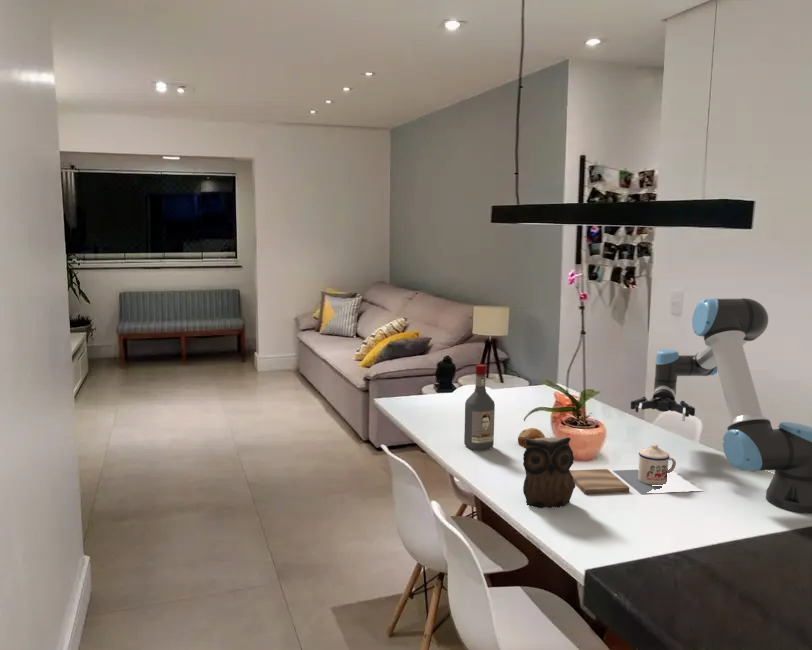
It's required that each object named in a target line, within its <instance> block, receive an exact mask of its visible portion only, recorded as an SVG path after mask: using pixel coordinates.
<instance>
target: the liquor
mask: <svg viewBox="0 0 812 650" xmlns="http://www.w3.org/2000/svg"><path fill="white" fill-rule="evenodd" d="M486 375H487V365H486V364H483V363H481V364H480V363H479V364H476V365H475V387H474V391H473V393H471V394H470V396H468V398H467V399H466V400H465V403H464V404H465V405H464V434H463V435H464V441H463V443H464V446H465V445H466V446H467V448H468V447H469V448H468V449H470V450H471V449H473V450H472V451H476V450H481V451H487V450H486V449H488V450H491V449H492V448H493V446H494V442H495V441H494V440H495V411H496V410H495V408H496V407H495V406H496V405H495V401H494V399H492V398H491V396H490V395H489V393H487V389H486ZM466 446H465V447H466Z"/></svg>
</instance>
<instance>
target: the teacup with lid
mask: <svg viewBox="0 0 812 650" xmlns="http://www.w3.org/2000/svg"><path fill="white" fill-rule="evenodd" d="M638 455H639V457H638V458H639V459H638V469H639V470H638V469H637V470H638V479H639V480H640V481H641V482H643V483H646V484H650V485H663V484H666V482H667V473H670V472H672V471H675V468H676V465H677V462H676V459H674V458H673V457H670V455H669V452H667V451H665V450H663V449H661V448H659V446H658V444H654V443H652V444H651V445H650V447H647V448H642V449H640V450H639V452H638ZM669 461H672V462H671V463H672V464H671V466H670V467H669ZM668 468H670V469H669V470H668Z"/></svg>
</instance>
